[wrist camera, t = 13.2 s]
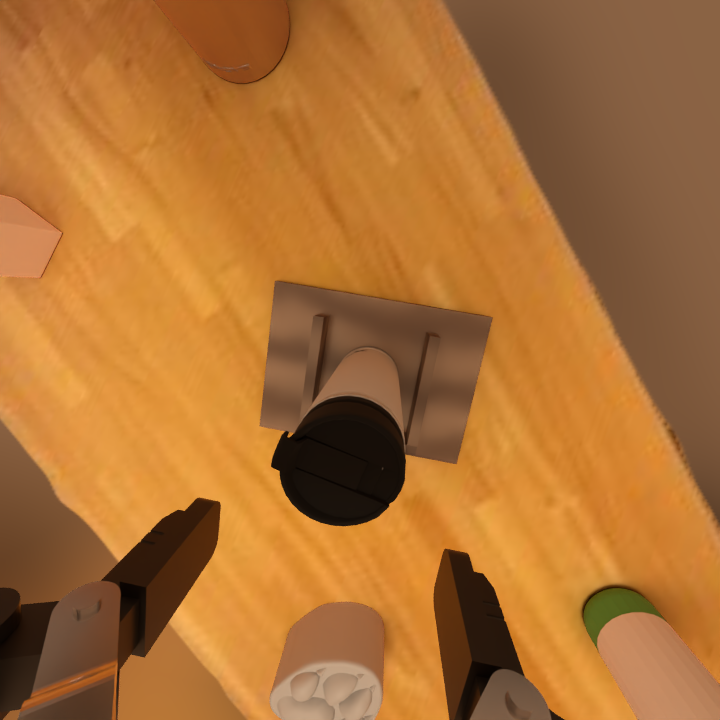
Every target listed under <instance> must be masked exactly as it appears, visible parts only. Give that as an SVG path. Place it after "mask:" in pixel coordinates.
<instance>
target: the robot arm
mask: <svg viewBox="0 0 720 720" xmlns="http://www.w3.org/2000/svg"><path fill="white" fill-rule="evenodd" d="M154 1H155V3H156V4H157V5H158V6H159V8H160V9H161V10H162V11H163V12H164V14H165V15H166V16H167V17H168V19H169V20H170V21H171V22H172V24H173V25H174V26H175V27H176V28H177V30H178V31H179V32H180V33H181V35H182V36H183V37H184V38H185V40H186V41H187V42H188V43H189V44H190V46H191V47H192V48H193V49H194V51H195V52H196V53H197V54H198V55H199V57H200V58H201V59H202V60H203V62H204V63H205V64H206V65H207V67H208V68H209V69H210V70H212V71H213V72H214V73H215V74H216V75H217V76H219V77H221V78H223V79H225V80H227V81H231V82H235V83H248V82H252V81H256V80H258V79H260V78H262V77H264V76H265V75H267V74H268V73H269V72H270V71H271V70H272V69H274V67H275V66H276V65H277V63H278V62H279V61H280V59H281V57H282V55H283V53H284V51H285V49H286V45H287V41H288V38H289V27H290V22H289V11H288V8H287V4H286V0H154ZM220 507H221V505H220V502H218V501H213V500H208V499H204V498H197V499H196V500H195V501H194V502H193V503H192V504H191V505H190V506H189V507H188V508H187V509H186V510H185V511H182V510H177V511H175V512H173V513H171V514H170V515H168V516H166V517H164V518H163V519H162V520H161V521H160V522H159V523H158V524H157V525H156V526H155V527H154V528H153V529H152V530H151V532H150V533H148V534H147V535H146V536H145V537H144V538H143V539H142V540H141V542H139V543H138V544H137V545H136V546H135V547H134V548H133V549H132V550H131V551H130V552H129V553H128V554H127V555H126V556H125V557H124V558H123V559H122V560H121V561H120V562H119V563H118V564H117V565H116V566H115V567H114V568H113V569H112V570H111V571H110V572H109V573H108V574H107V575H106V576H105V577H104V578H103V579H102V580H101V581H97V582H92V583H88V584H85V585H83V586H81V587H78V588H77V589H75V590H73V591H72V592H70V593H68V594H67V595H66V596H65V597H64V598H62V599H61V600H60V601H55V602H46V603H34V604H24V605H21V602H20V595H19V593H18V592H17V591H16V590H14V589H11V588H0V720H3V718H4V717H5V716H6V715H7V714H8V713H9V711H12V710H18V709H21V710H20V713H19V717H18V720H118V707H119V689H120V688H119V687H120V669H121V667H122V666H123V665H124V663H125V662H126V660H127V659H128V657H129V656H130V655H131V654H132V655H136V656H140V657H145V656H146V654H147V653H148V652H149V650H150V649H151V647H152V646H153V644H154V643H155V641H156V640H157V638H158V637H159V635H160V633H161V632H162V631H163V629H164V628H165V626H166V625H167V623H168V622H169V620H170V619H171V617H172V616H173V614H174V613H175V611H176V610H177V608H178V607H179V605H180V604H181V602H182V601H183V599H184V598H185V596H186V595H187V593H188V592H189V590H190V589H191V587H192V586H193V584H194V583H195V581H196V580H197V578H198V577H199V575H200V574H201V572H202V571H203V569H204V568H205V566H206V565H207V563H208V562H209V560H210V559H211V557H212V555H213V553H214V551H215V548H216V545H217V541H218V533H219V520H220ZM499 605H500V604H499V601H498V598H497V596H496V593H495V590H494V588H493V586H492V585H491V584H490V582H489V581H488V580H487V578H486V577H485V576H484V574H482V573H477V572H474V571H473V568H472V564H471V561H470V557H469V555H468V554H467V553H464V552H459V551H455V550H450V549H445V550H444V552H443V555H442V559H441V563H440V567H439V571H438V575H437V579H436V582H435V587H434V611H435V618H436V625H437V632H438V640H439V647H440V654H441V661H442V668H443V676H444V683H445V690H446V697H447V705H448V712H449V719H450V720H564V719H563V718H561V717H559V716H558V715H556V714H555V713H554V712H552V711H551V710H550V709H549V708H548V706H547V704H546V702H545V700H544V698H543V696H542V695H541V693H540V692H539V691H538V689H537V688H536V687H535V686H534V685H533V684H532V683H531V682H530V681H529V680H528V679H526V678H525V676H524V673H523V670H522V668H521V665H520V662H519V659H518V656H517V653H516V650H515V647H514V645H513V642H512V639H511V636H510V633H509V630H508V627H507V624H506V622H505V621H504V616H503V613H502V610H501V608H500V606H499Z"/></svg>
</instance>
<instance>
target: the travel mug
mask: <svg viewBox="0 0 720 720" xmlns="http://www.w3.org/2000/svg"><path fill="white" fill-rule="evenodd" d="M288 434H289V432H288V431H285V432H284V433H283V435H282V436H281V438H280V440H279V443H278V445H277V447H276V450H275V453H274V455H273V458H272V463H271V467H272V468H274V469H277V470H279V471H280V479H281V484H282V487H283V489H284V491H285V494H286V496H287V497H288V498H289V500H290V501H291V503H292V504H293V505H294V506H295V507H296V508H297V509H298V510H299V511H300V512H302V513H303V514H305V515H306V516H308V517H309V518H311V519H313V520H316V521H318V522H320V523H324V524H328V525H334V526H351V525H358V524H362V523H365V522H368V521H370V520H373V519H375V518H377V517H378V516H380V515H381V514H382V513H383V512H384V511H385V510H386V509H387V508H388V507H389V504H390V503H391V502H393V501H394V500H395V499H396V498H397V496H398V494H399V493H400V491H401V489H402V486H403V484H404V481H405V464H406V459H405V437H404V427H403V417H402V407H401V397H400V387H399V377H398V369H397V366H396V363H395V362H394V360H393V358H392V357H391V356H390V355H389V354H388V353H387V352H386V351H384V350H382V349H380V348H377V347H374V346H362V347H358V348H356V349H354V350H352V351H350V352H349V353H348V354H347V355H346V356H345V357H344V358H343V360H342V361H341V363H340V364H339V365H338V367H337V368H336V370H335V371H334V373H333V374H332V376H331V377H330V379H329V380H328V382H327V383H326V384H325V386H324V387H323V389H322V390H321V392H320V393H319V395H318V396H317V398H316V399H315V401H314V402H313V404H312V405H311V406H310V408H309V409H308V411H307V412H306V414H305V415H304V417H303V418H302V420H301V422H300V424H299V426H298V427H297V429H296V431H295V433H294V434H293V435H292V436H291V437H290V438H288V437H287V436H288Z"/></svg>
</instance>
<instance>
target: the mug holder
mask: <svg viewBox="0 0 720 720" xmlns="http://www.w3.org/2000/svg"><path fill="white" fill-rule="evenodd" d="M491 322H492V317H488V316H482V315H476V314H470V313H464V312H458V311H452V310H446V309H440V308H434V307H428V306H423V305H417V304H411V303H405V302H399V301H393V300H387V299H381V298H375V297H369V296H363V295H357V294H351V293H345V292H340V291H334V290H328V289H322V288H316V287H310V286H304V285H298V284H292V283H286V282H280V281H275V287H274V297H273V306H272V315H271V325H270V334H269V343H268V353H267V362H266V372H265V381H264V390H263V400H262V409H261V419H260V426H261V427H266V428H272V429H277V430H282V431H288V432H292V433H295V431H296V429H297V427H298V426H299V424H300V422H301V420H302V418H303V417H304V415H305V414H306V412H307V411H308V409H309V408H310V406H311V405H312V404H313V402H314V401H315V399H316V398H317V396H318V395H319V393H320V392H321V390H322V389H323V387H324V386H325V384H326V383H327V382H328V380H329V379H330V377H331V376H332V374H333V373H334V371H335V370H336V368H337V367H338V365H339V364H340V363H341V361H342V360H343V358H344V357H345V356H346V355H347V354H348V353H349V352H350V351H352V350H354V349H356V348H358V347H362V346H374V347H377V348H380V349H382V350H384V351H386V352H387V353H388V354H389V355H390V356H391V357H392V358H393V360H394V362H395V363H396V366H397V369H398V377H399V387H400V397H401V407H402V417H403V427H404V437H405V454H407V455H412V456H417V457H422V458H427V459H432V460H438V461H443V462H448V463H453V464H457V460H458V456H459V452H460V448H461V443H462V439H463V435H464V431H465V427H466V423H467V419H468V415H469V411H470V407H471V403H472V399H473V395H474V391H475V387H476V383H477V379H478V375H479V371H480V367H481V362H482V358H483V354H484V350H485V346H486V342H487V338H488V334H489V330H490V326H491Z"/></svg>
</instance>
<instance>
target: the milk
mask: <svg viewBox="0 0 720 720" xmlns="http://www.w3.org/2000/svg"><path fill="white" fill-rule="evenodd" d="M61 235H62V232H60V231H59V230H58V229H56V228H55V227H54V226H52V225H51V224H50V223H48V222H47V221H46V220H44V219H43V218H42V217H40V216H39V215H38V214H36V213H35V212H34V211H32V210H31V209H30V208H28V207H27V206H26V205H24V204H23V203H22V202H20V201H19V200H18V199H16V198H12V197H8V196H4V195H0V276H3V277H28V278H41V276H42V274H43V272H44V270H45V268H46V266H47V264H48V262H49V260H50V258H51V256H52V253H53V251H54V249H55V247H56V245H57V243H58V241H59V239H60V237H61Z"/></svg>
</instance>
